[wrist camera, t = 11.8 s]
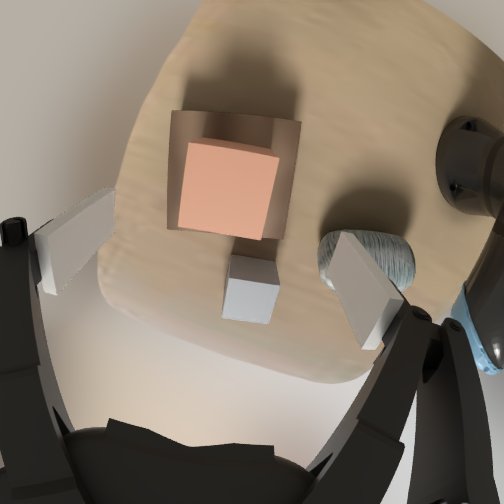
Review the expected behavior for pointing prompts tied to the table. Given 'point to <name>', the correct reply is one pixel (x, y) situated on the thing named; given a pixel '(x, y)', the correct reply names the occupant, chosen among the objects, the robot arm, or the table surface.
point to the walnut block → (241, 131)
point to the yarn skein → (373, 255)
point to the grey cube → (250, 289)
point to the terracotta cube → (227, 187)
